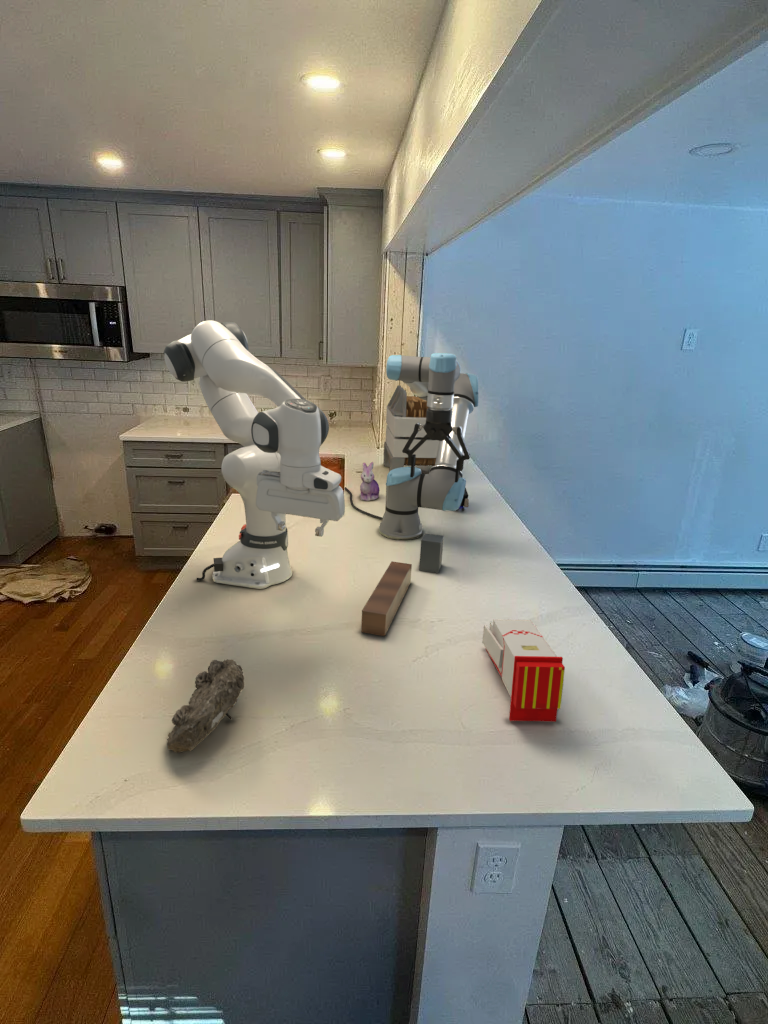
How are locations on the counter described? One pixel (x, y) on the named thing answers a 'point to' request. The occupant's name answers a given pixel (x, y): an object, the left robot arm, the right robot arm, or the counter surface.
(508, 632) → the toy
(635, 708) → the counter surface
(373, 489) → the figurine
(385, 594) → the walnut beam
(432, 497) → the right robot arm
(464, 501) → the figurine character
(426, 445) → the white boxy piece
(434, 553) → the cap block
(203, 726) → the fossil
